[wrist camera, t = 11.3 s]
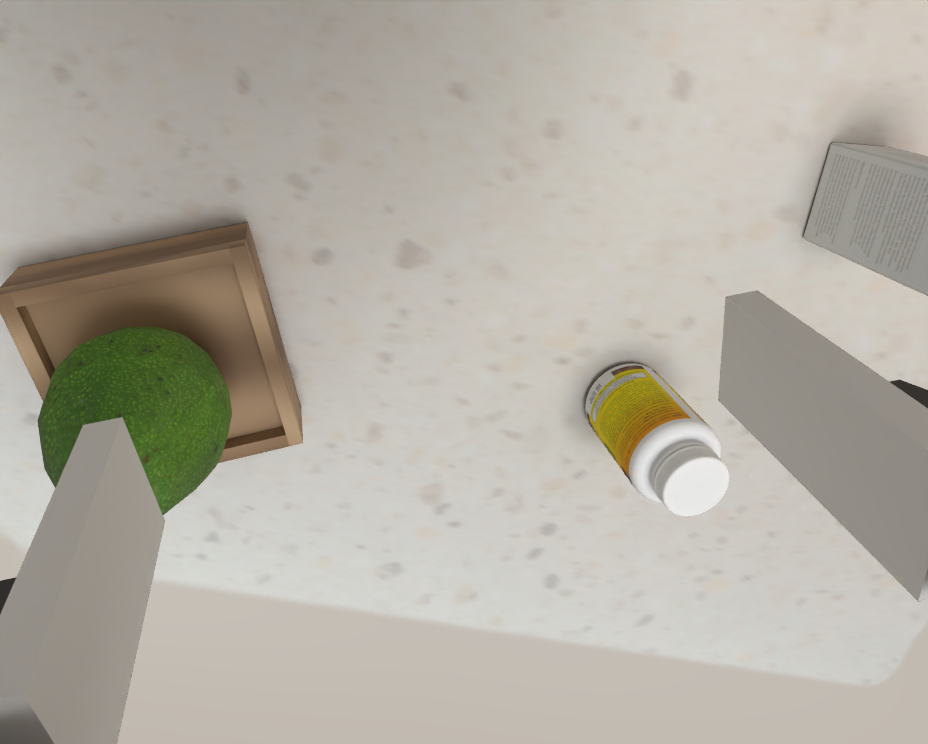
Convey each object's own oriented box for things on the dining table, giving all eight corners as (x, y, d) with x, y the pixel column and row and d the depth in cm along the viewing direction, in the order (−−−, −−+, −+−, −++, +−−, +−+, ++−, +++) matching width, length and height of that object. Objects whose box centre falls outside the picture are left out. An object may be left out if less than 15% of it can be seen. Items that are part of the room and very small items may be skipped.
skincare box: (857, 239, 48) (1018, 311, 37) (800, 238, 47) (948, 310, 36) (890, 142, 45) (1073, 190, 35) (830, 138, 44) (1000, 186, 34)
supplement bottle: (566, 417, 49) (630, 512, 40) (612, 347, 47) (689, 431, 39) (630, 443, 51) (704, 539, 42) (676, 377, 50) (763, 463, 41)
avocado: (214, 284, 37) (190, 401, 27) (251, 417, 41) (241, 565, 30) (45, 311, 36) (-50, 445, 25) (98, 446, 40) (34, 611, 29)
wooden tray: (18, 267, 37) (-8, 296, 34) (247, 222, 39) (244, 245, 35) (103, 452, 43) (88, 493, 40) (301, 407, 44) (302, 442, 41)
